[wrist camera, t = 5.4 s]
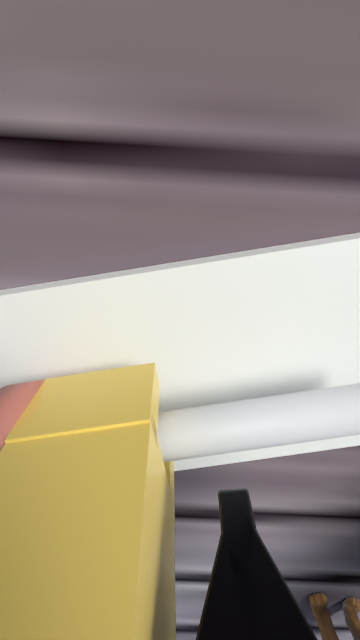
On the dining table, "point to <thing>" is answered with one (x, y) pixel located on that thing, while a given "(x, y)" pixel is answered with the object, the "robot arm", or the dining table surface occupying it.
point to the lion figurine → (324, 620)
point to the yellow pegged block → (88, 513)
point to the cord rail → (207, 347)
